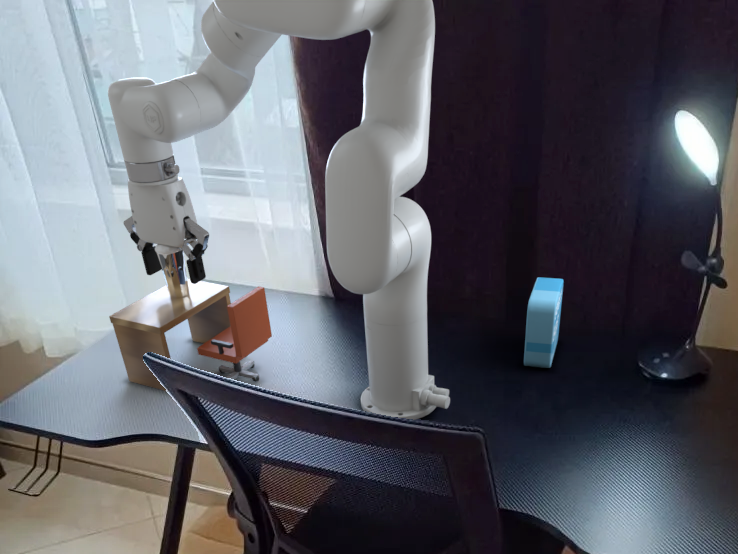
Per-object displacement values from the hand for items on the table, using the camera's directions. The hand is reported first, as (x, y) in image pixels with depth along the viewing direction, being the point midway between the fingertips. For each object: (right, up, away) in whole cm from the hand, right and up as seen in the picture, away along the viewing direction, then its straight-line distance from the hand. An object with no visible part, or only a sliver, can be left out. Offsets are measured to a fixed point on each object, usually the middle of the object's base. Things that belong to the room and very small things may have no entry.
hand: (176, 276), depth 133 cm
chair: (+10, -17, +3) cm, 20 cm away
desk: (0, -13, +7) cm, 15 cm away
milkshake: (0, -2, +2) cm, 3 cm away
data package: (+63, -12, +5) cm, 64 cm away
